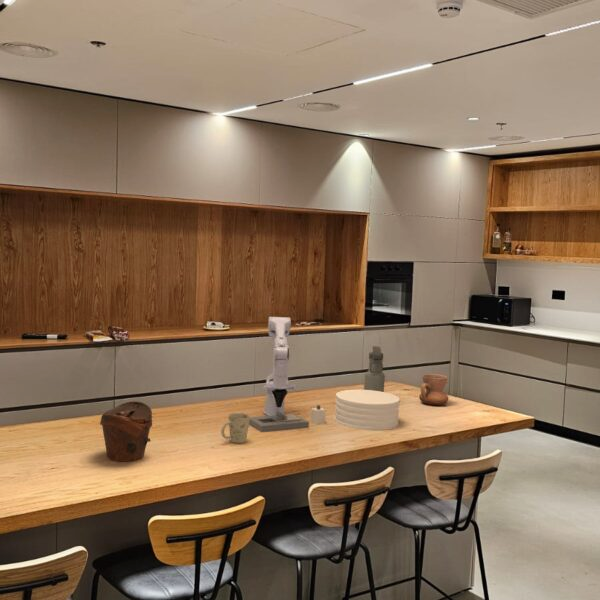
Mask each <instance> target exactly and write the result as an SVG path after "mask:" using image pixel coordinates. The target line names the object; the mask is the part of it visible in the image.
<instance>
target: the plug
mask: <svg viewBox="0 0 600 600" xmlns="http://www.w3.org/2000/svg"><path fill="white" fill-rule="evenodd" d="M326 412H327V410H326V408H323V407H321V404H320V405H319V404H317V405H316V407H315V408H314V407H313V408H311V409H310V422H311V423H312V424H314V425H320V424H326V416H327V415H326V414H327V413H326Z"/></svg>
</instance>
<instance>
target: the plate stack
mask: <svg viewBox="0 0 600 600" xmlns="http://www.w3.org/2000/svg"><path fill="white" fill-rule="evenodd" d="M400 401H401V400H400V397H399V396H397V395H395V394H392V393H389V392H381V391H373V390H364V389H347V390H346V389H345V390H341V391H338V392H336V394H335V406H334V409H335V410H334V422H336V423H337V424H338V425H340V426H343V427H347V428H349V429H350V428H351V429H355V430H364V431H365V430H366V431H384V430H390V429H394V428H396V427H398V425H399V414H400Z"/></svg>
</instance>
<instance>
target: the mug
mask: <svg viewBox="0 0 600 600" xmlns="http://www.w3.org/2000/svg"><path fill="white" fill-rule="evenodd" d="M250 417H251V415H250V414H248V413H245V412H244V413H243V412H234V413H233V412H232V413H230V414H228V417H227V418H228V421H226V422H224V423H223V425H222V426H221V433H220V435H221V436H222V437H223V438H224V439H225V440H228V439H229V440H230V442H232V443H234V444H243V443H245V442H246V441H247V437H248V431H249V421H250ZM227 426H229V427H228V428H229V435H227V436H226V434H225V429H226V427H227Z"/></svg>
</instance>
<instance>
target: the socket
mask: <svg viewBox="0 0 600 600" xmlns="http://www.w3.org/2000/svg"><path fill="white" fill-rule="evenodd" d="M288 414H289V413H284V415H288ZM292 414H293V415H295V416H297V417H299V418H301V420H297V421H286V422H284V421H282V420H281V419H279V418H277V417H276V415H272V416H268V415H262V416H250V421H249V425H250V426H251V427H253V428H254V429H256V430H257V431H259V432H260V433H265V432H266V433H267V432H277V431H288V430H297V429H304V428H305V429H306V428H308V429H309V427H310V426H309V425H310V421H308V420H306V419H304V418H303V417H300V416H298V415H297V414H294V413H292Z"/></svg>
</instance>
